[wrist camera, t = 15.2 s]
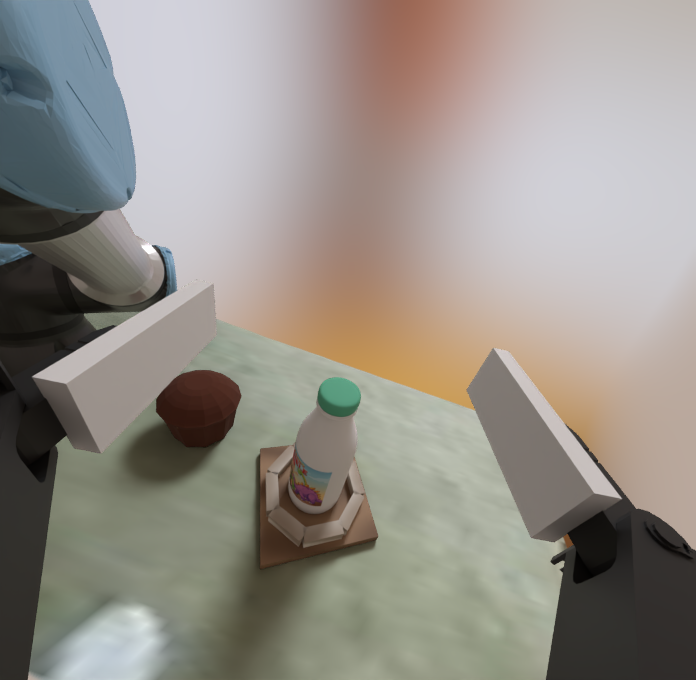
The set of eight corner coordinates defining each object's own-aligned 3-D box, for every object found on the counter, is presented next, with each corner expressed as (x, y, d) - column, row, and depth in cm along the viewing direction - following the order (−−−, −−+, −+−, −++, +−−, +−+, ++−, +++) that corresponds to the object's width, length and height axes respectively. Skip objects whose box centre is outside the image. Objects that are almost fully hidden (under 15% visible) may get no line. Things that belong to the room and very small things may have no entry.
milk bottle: (326, 455, 43) (352, 361, 32) (349, 501, 38) (390, 407, 27) (280, 473, 39) (293, 373, 28) (299, 527, 34) (324, 430, 23)
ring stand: (260, 453, 42) (260, 442, 41) (347, 443, 47) (351, 433, 46) (260, 569, 31) (260, 560, 29) (375, 539, 36) (381, 531, 34)
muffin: (253, 410, 49) (254, 370, 44) (218, 464, 40) (213, 421, 34) (193, 392, 49) (187, 350, 44) (144, 442, 40) (129, 396, 35)
